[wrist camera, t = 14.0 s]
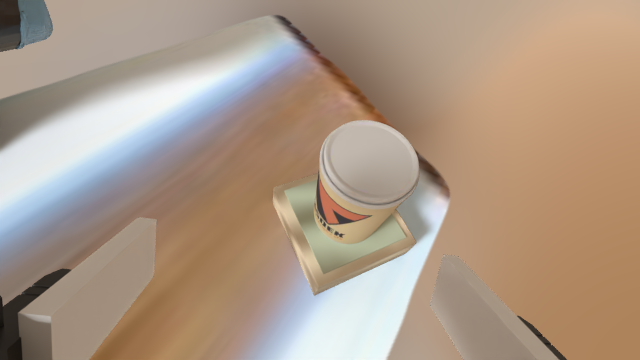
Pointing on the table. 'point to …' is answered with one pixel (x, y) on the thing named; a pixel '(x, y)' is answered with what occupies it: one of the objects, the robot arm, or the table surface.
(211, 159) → the table surface
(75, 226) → the table surface
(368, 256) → the birch riser
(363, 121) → the coffee cup
